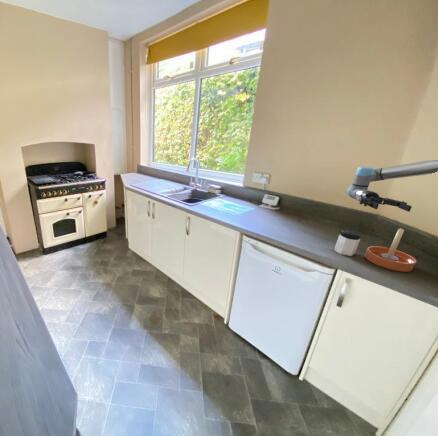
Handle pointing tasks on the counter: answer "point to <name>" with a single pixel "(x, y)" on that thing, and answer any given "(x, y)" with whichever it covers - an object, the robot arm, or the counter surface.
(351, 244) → the jar
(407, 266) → the bowl
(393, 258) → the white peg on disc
